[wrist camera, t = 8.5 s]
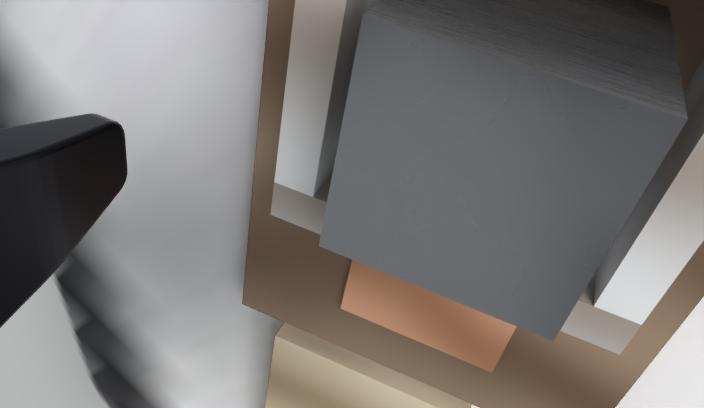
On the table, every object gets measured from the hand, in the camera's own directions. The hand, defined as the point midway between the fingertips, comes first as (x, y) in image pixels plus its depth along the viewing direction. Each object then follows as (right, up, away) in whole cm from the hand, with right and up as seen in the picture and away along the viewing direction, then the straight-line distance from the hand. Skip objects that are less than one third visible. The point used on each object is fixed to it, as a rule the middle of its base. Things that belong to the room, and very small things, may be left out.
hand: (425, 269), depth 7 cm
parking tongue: (0, -7, +16) cm, 17 cm away
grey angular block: (+3, +4, +6) cm, 7 cm away
